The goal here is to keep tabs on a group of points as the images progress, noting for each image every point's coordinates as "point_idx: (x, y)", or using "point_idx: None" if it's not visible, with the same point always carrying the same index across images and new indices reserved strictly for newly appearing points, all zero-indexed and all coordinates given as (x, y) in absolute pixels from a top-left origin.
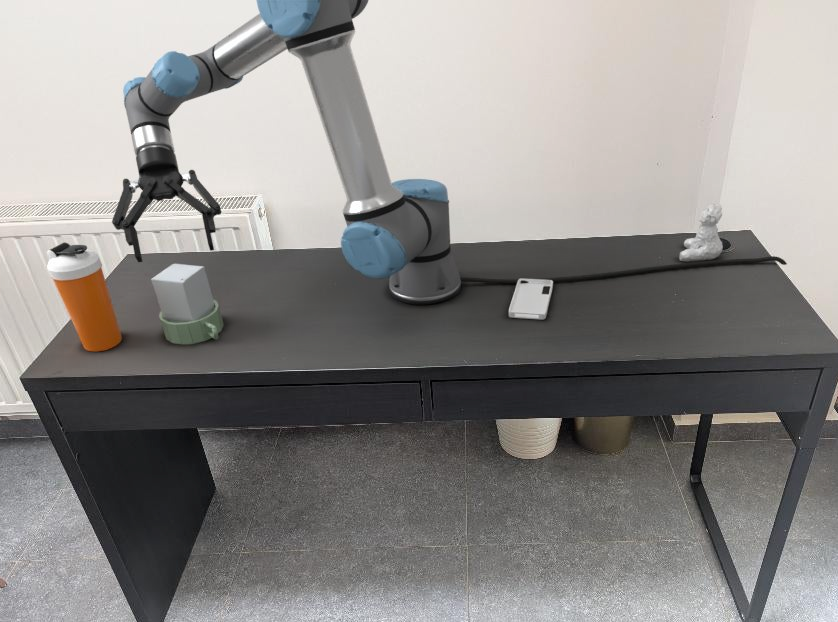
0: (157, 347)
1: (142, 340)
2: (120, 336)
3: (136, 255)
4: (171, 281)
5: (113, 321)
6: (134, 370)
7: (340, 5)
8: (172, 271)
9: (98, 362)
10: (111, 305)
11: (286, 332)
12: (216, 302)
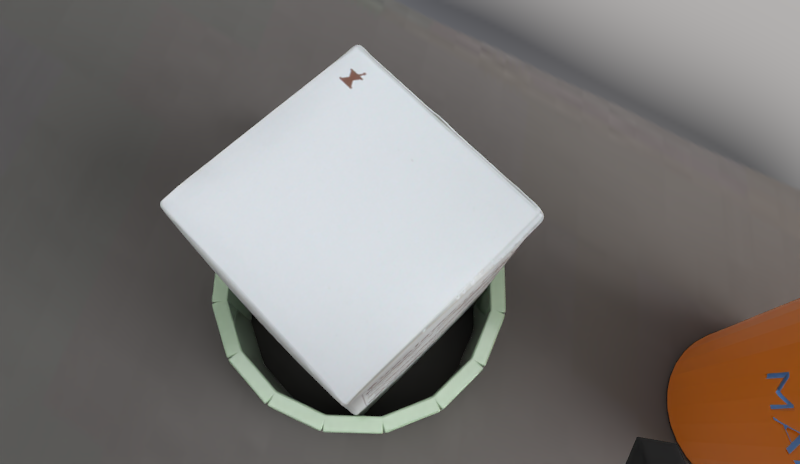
0: (525, 242)
1: (580, 335)
2: (674, 386)
3: (666, 454)
4: (419, 102)
5: (726, 351)
6: (614, 125)
7: None
8: (385, 237)
9: (746, 249)
10: (763, 369)
11: (58, 91)
12: (217, 285)
